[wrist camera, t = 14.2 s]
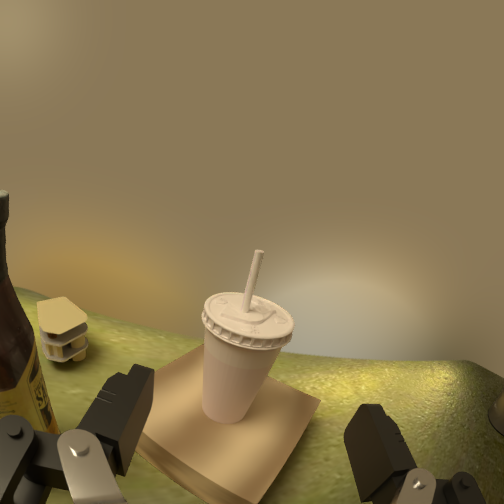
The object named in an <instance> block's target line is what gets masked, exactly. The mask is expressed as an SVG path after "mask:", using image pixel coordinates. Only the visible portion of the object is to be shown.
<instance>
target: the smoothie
mask: <svg viewBox="0 0 504 504" xmlns="http://www.w3.org/2000/svg"><path fill="white" fill-rule="evenodd" d="M263 254H264V252H263V251H261V250H255V254H254V258H253V262H252V265H251V270H250V273H249V277H248V281H247V285H246V289H245V293H236V292H226V293H219V294H215V295H213V296H211V297H209V298H208V299H207V300H206V302H205V306H204V310H203V313H202V321H203V323H204V325H205V338H204V363H203V391H202V409H203V411H204V413H205V414H206V415H207V416H208V417H209V418H210V419H212V420H213V421H216V422H218V423H222V424H233V423H236V422H239V421H240V420H242V419H243V417H244V416H245V414H246V412H247V410H248V409H249V407H250V405H251V403H252V402H253V400H254V398H255V396H256V395H257V393H258V391H259V389H260V387H261V386H262V384H263V382H264V380H265V378H266V376H267V375H268V373H269V371H270V369H271V367H272V365H273V363H274V362H275V360H276V358H277V356H278V354H279V352H280V350H281V348H282V347H283V346H285V345H286V344H287V343H288V342H290V340H291V338H292V332H293V329H294V326H295V324H294V320H293V318H292V316H291V315H290V314H289V313H288V312H287V311H286V310H285V309H283V308H282V307H280V306H279V305H277V304H275V303H273V302H271V301H269V300H267V299H264V298H261V297H258V296H254V295H253V292H254V289H255V285H256V281H257V277H258V273H259V269H260V266H261V262H262V258H263Z"/></svg>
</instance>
